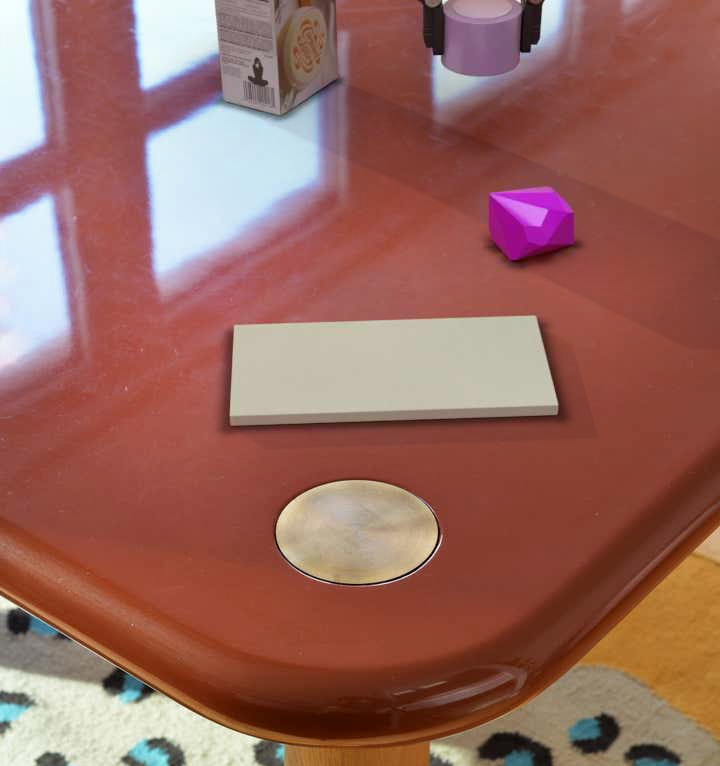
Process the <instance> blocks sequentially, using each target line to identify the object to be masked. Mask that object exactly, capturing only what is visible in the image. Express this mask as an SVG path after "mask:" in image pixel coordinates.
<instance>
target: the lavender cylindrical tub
mask: <svg viewBox="0 0 720 766" xmlns="http://www.w3.org/2000/svg"><path fill="white" fill-rule="evenodd" d="M522 16H523V8H522V5H521V2H519V1H518V0H446V1H444V3H443V54H442V55H440V63H441V64H442V66H443V68H445V69H446V70H448V71H450V72H452V73H454V74H458V75H462V76H468V77H476V78H477V77H478V78H479V77H481V78H483V77H495V76H500V75H504V74H507V73H509V72H511V71H513V70H515V69H516V68H517V67H518V66H519V64H520V63H521V52H520V50H521V33H522Z"/></svg>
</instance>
